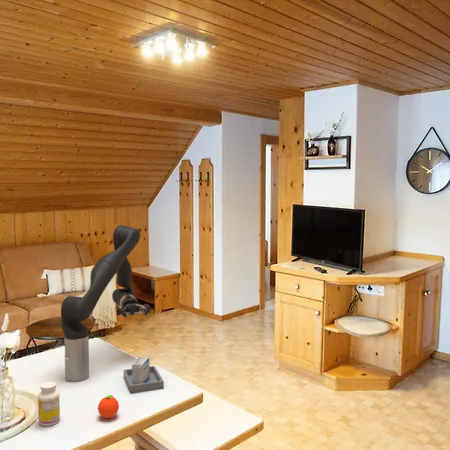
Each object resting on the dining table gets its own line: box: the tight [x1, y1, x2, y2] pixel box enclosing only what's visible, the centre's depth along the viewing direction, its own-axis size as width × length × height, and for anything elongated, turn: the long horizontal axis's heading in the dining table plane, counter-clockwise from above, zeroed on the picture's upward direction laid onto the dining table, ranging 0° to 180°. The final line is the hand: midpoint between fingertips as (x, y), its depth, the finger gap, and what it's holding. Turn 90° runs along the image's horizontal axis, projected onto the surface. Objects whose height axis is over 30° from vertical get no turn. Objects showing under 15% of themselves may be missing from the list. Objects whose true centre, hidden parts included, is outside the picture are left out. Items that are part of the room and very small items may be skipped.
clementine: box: [97, 394, 120, 419], centre depth 160 cm, size 8×7×7 cm
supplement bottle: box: [37, 381, 61, 427], centre depth 156 cm, size 7×7×13 cm
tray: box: [123, 365, 165, 394], centre depth 186 cm, size 13×16×3 cm
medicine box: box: [131, 356, 150, 385], centre depth 185 cm, size 8×4×9 cm, turn 170°
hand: (135, 314), depth 197 cm, fingers open, 8 cm apart
